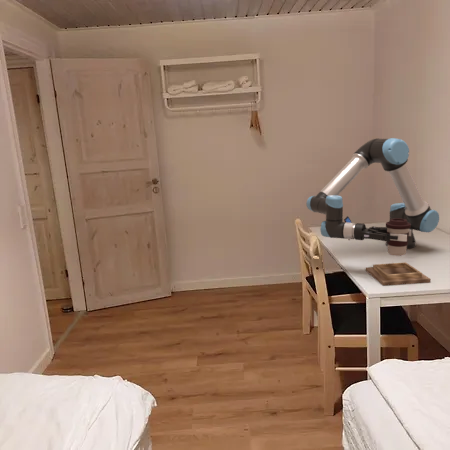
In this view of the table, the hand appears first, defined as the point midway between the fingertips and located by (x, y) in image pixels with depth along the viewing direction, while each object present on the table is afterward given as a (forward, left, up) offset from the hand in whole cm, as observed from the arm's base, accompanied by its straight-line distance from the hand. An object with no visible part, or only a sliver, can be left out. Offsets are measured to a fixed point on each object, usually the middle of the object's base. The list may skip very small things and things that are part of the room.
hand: (408, 235), depth 184 cm
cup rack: (+4, -3, -19) cm, 19 cm away
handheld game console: (-8, -92, -19) cm, 95 cm away
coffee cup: (+4, -3, -9) cm, 10 cm away
